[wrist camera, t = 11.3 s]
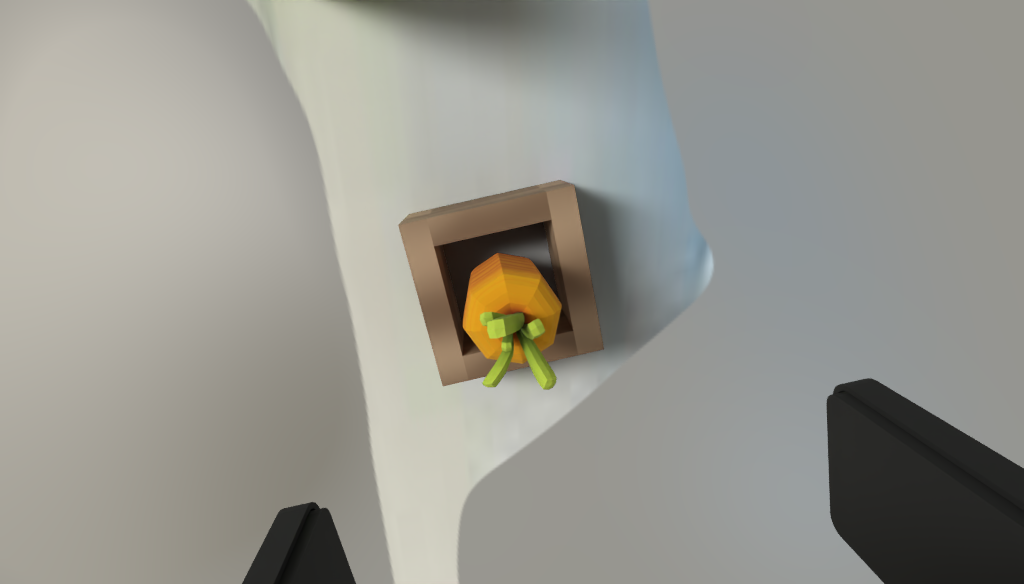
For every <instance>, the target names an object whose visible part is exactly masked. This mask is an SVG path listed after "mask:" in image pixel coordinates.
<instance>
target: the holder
mask: <svg viewBox="0 0 1024 584" xmlns="http://www.w3.org/2000/svg"><path fill="white" fill-rule="evenodd" d="M540 222H543V223H544V228H545V233H546V238H547V243H548V248H549V253H550V258H551V263H552V268H553V273H554V278H555V283H556V288H557V293H558V298H559V301H560V303H561V305H562V308H561V312H560V317H559V321H558V326H557V330H556V335H555V339H554V343H553V344H552V345H550V346H549V347H547V348H546V349H544V350H543V351H541V353H542V355H543V356H544V358H545V359H546V361H547V362H550V361H555V360H559V359H563V358H568V357H572V356H576V355H581V354H585V353H589V352H594V351H598V350H602V349H604V347H603V341H602V336H601V330H600V324H599V319H598V313H597V308H596V302H595V297H594V291H593V286H592V280H591V275H590V269H589V264H588V258H587V253H586V247H585V242H584V236H583V231H582V225H581V220H580V214H579V209H578V203H577V198H576V192H575V187H574V185H572V184H569V183H567V182H564V181H561V180H558V181H554V182H549V183H545V184H540V185H536V186H531V187H527V188H523V189H518V190H514V191H509V192H505V193H501V194H496V195H492V196H487V197H483V198H478V199H474V200H470V201H465V202H461V203H456V204H452V205H448V206H443V207H439V208H434V209H430V210H425V211H421V212H417V213H412V214H409V215H408V216H407V217H406V218H405V219H404V220H403V221H402V222H401V223H400V224H399V225H398V226H399V229H400V233H401V236H402V240H403V244H404V247H405V251H406V255H407V258H408V262H409V265H410V269H411V273H412V276H413V280H414V283H415V287H416V291H417V294H418V298H419V302H420V305H421V309H422V312H423V316H424V320H425V323H426V327H427V330H428V334H429V338H430V341H431V345H432V349H433V352H434V356H435V359H436V363H437V367H438V370H439V374H440V378H441V381H442V385H443V386H446V385H451V384H455V383H459V382H464V381H468V380H472V379H477V378H481V377H485V376H487V375H488V373H489V372H490V370H491V369H492V368H493V366H494V364H495V363H496V361H497V360H493V359H487V358H486V357H485V356H484V355H483V353H482V352H481V351H480V349H479V348H478V347H477V346H476V344H475V343H474V342H473V340H472V339H471V338H470V336H469V335H468V334H467V333H466V331H465V330H464V329H463V324H462V320H461V316H460V312H459V308H458V304H457V300H456V296H455V292H454V289H453V285H452V281H451V277H450V273H449V269H448V265H447V261H446V257H445V253H444V250H443V246H442V245H443V244H447V243H452V242H456V241H460V240H465V239H469V238H474V237H478V236H482V235H487V234H491V233H496V232H500V231H504V230H509V229H513V228H518V227H522V226H526V225H531V224H535V223H540ZM529 366H530V365H529V363H528V361H526V362H525V363H523V364H521V363H514V362H510V364H509V367H508V369H507V371H511V370H516V369H520V368H524V367H529ZM507 371H506V372H507Z"/></svg>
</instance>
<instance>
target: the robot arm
mask: <svg viewBox="0 0 1024 584" xmlns="http://www.w3.org/2000/svg"><path fill="white" fill-rule="evenodd" d="M827 428H828V458H829V488H830V513H831V519H832V522H833V524H834V527H835V529H836V530H837V532H838V534H839V535H840V536H841V537H842V538H843V539H844V541H845V542H846V543H847V544H848V545H849V546H850V547H851V548H852V549H853V550H854V551H855V552H856V553H857V555H858V556H860V558H861V559H862V560H863V561H864V562H865V563H866V564H867V565H868V566H869V567H870V568H871V570H872V571H873V572H874V573H875V574H876V575H877V576H878V577H879V578H880V579H881V580H882V581H883V582H884V584H1024V468H1022V467H1020V466H1018V465H1017V464H1015V463H1013V462H1012V461H1010V460H1008V459H1007V458H1005V457H1003V456H1002V455H1000V454H998V453H997V452H995V451H993V450H992V449H990V448H988V447H987V446H985V445H983V444H982V443H980V442H978V441H977V440H975V439H973V438H972V437H970V436H968V435H966V434H965V433H963V432H962V431H960V430H958V429H956V428H955V427H953V426H951V425H950V424H948V423H946V422H945V421H943V420H941V419H940V418H938V417H936V416H935V415H933V414H931V413H930V412H928V411H926V410H925V409H923V408H921V407H920V406H918V405H916V404H915V403H913V402H911V401H910V400H908V399H906V398H904V397H903V396H901V395H899V394H898V393H896V392H894V391H893V390H891V389H890V388H888V387H886V386H884V385H883V384H881V383H879V382H878V381H876V380H873V379H863V380H858V381H854V382H849V383H845V384H840V385H838V386H836V387H835V389H834V392H833V395H830V396H829V397H828V399H827ZM242 584H356V583H355V580H354V577H353V574H352V572H351V569H350V566H349V564H348V561H347V558H346V555H345V552H344V550H343V547H342V544H341V542H340V539H339V536H338V533H337V530H336V528H335V525H334V522H333V519H332V517H331V514H330V512H329V510H328V509H327V508H322V509H320V508H319V506H318V505H317V504H316V503H314V502H311V503H307V504H302V505H298V506H293V507H288V508H284V509H282V510H280V511H279V513H278V515H277V517H276V518H275V520H274V522H273V524H272V526H271V528H270V530H269V532H268V534H267V536H266V538H265V540H264V542H263V544H262V546H261V548H260V550H259V552H258V553H257V555H256V557H255V559H254V561H253V563H252V566H251V567H250V569H249V571H248V573H247V575H246V577H245V579H244V581H243V583H242Z"/></svg>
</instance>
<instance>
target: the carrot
mask: <svg viewBox="0 0 1024 584" xmlns="http://www.w3.org/2000/svg"><path fill="white" fill-rule="evenodd" d="M561 308H562V305H561V303H560V301H559V300H558V298H557V297H556V295H555V294H554V292H553V291H552V289H551V288H550V286H549V285H548V284H547V282H546V281H545V279H544V278H543V276H542V275H541V273H540V272H539V270H538V269H537V268H536V266H535V265H534V264H533V262H532V261H531V260H530V259H528V258H525V257H520V256H514V255H508V254H502V253H496V254H495V255H493V256H492V257H490V258H489V259H487V260H486V261H484V262H483V263H482V264H480V265H479V266H477V267H476V268H475V269H474V270H473V271H472V272H471V276H470V281H469V287H468V293H467V298H466V304H465V310H464V317H463V329H464V330H465V331H466V333H467V334H468V335H469V336H470V338H471V339H472V340H473V342H474V343H475V344H476V346H477V347H478V348H479V349H480V351H481V352H482V353H483V355H484V356H485V357H486V358H487V359H493V360H497V361H496V363H495V364H494V366H493V368H492V369H491V370H490V372H489V373H488V375H487V376H486V378H485V379H484V381H483V385H484V386H486V387H496V386H497V385H498V383H499V382H500V381H501V379H502V378H503V376H504V375H505V373H506V371H507V369H508V367H509V364H510V362H514V363H521V364H523V363H525V362H526V361H528V363H529V365H530V367H531V370H532V372H533V374H534V376H535V378H536V379H537V381H538V383H539V384H540V386H541V387H542V388H543V389H547V390H548V389H551V388H553V386H554V385H555V383H556V376H555V374H554V372H553V370H552V369H551V367H550V366H549V364H548V363H547V361H546V359H545V358H544V356H543V355H542V353H541V351H543V350H544V349H546V348H547V347H549V346H550V345H552V344H553V343H554V339H555V335H556V330H557V326H558V321H559V317H560V312H561Z"/></svg>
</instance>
